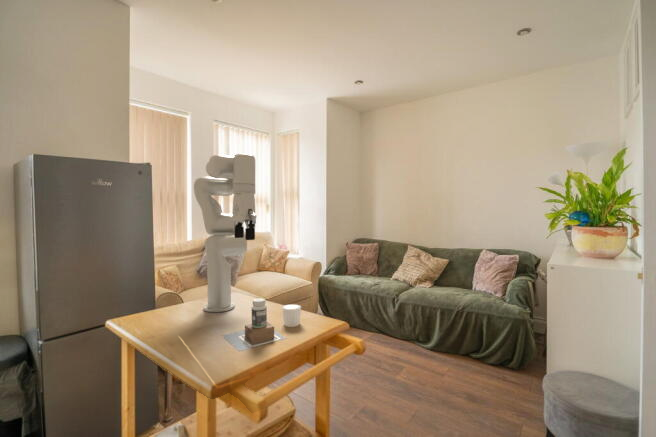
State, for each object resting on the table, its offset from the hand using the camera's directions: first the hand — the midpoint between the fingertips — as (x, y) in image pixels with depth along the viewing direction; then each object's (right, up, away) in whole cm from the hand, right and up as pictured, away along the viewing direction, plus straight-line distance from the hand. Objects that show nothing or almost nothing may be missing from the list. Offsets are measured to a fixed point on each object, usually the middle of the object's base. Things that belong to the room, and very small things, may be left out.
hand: (244, 238), depth 112 cm
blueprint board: (+5, -32, -8) cm, 34 cm away
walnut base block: (+7, -32, -9) cm, 34 cm away
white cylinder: (+16, -32, +4) cm, 36 cm away
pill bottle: (+7, -28, -9) cm, 30 cm away
